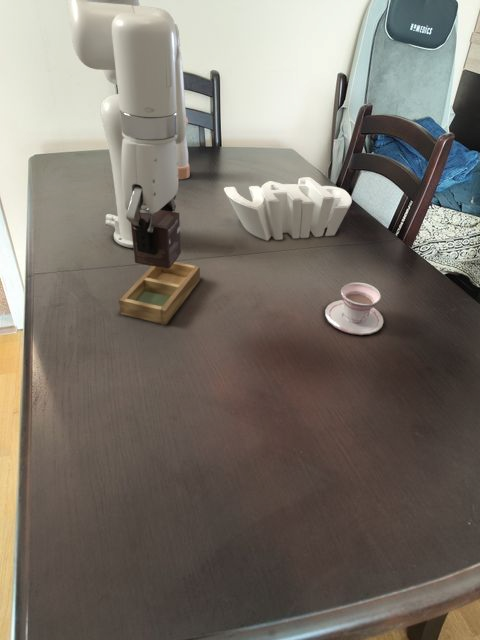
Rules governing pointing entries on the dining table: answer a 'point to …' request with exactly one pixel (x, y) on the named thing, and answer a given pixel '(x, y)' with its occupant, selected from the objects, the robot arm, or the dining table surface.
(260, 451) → the dining table surface
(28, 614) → the dining table surface
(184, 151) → the pepper shaker
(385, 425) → the dining table surface
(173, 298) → the wooden tray
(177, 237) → the box
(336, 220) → the wavy white extrusion
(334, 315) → the teacup
